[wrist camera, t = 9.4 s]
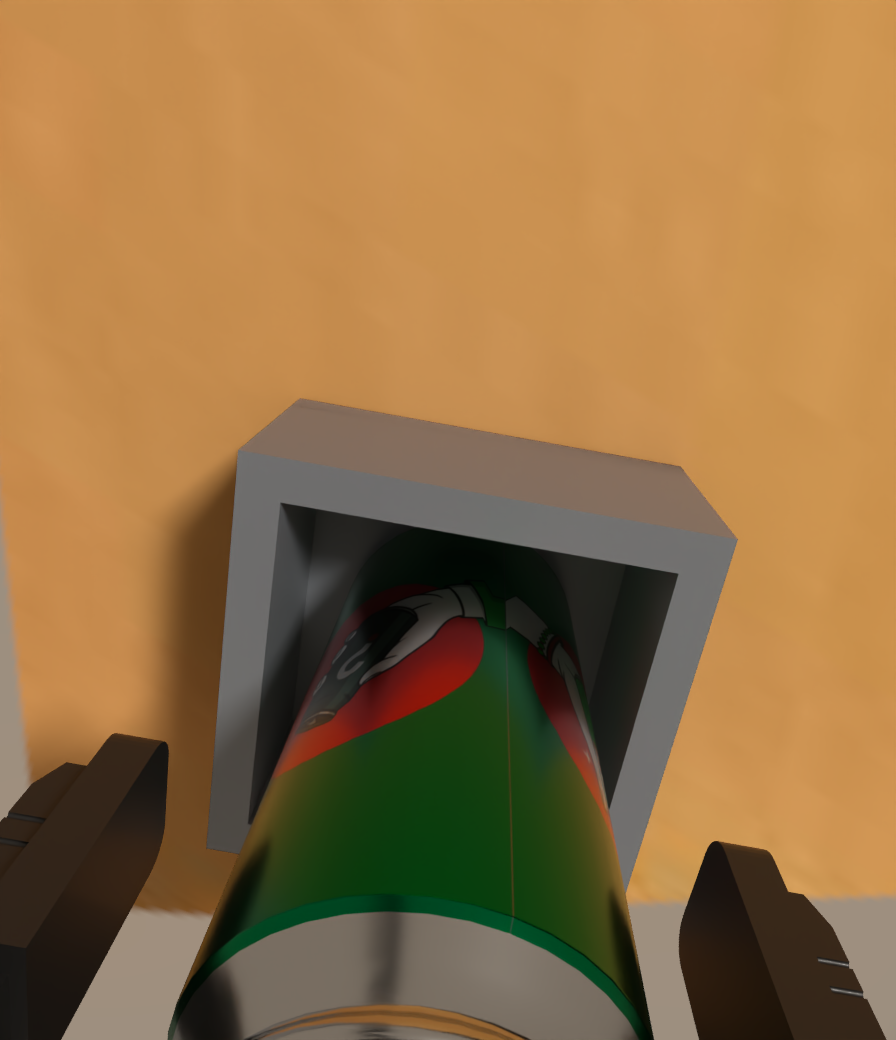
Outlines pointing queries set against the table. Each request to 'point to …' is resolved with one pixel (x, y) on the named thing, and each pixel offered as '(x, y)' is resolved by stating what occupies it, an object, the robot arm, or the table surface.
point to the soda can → (430, 828)
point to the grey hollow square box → (477, 513)
